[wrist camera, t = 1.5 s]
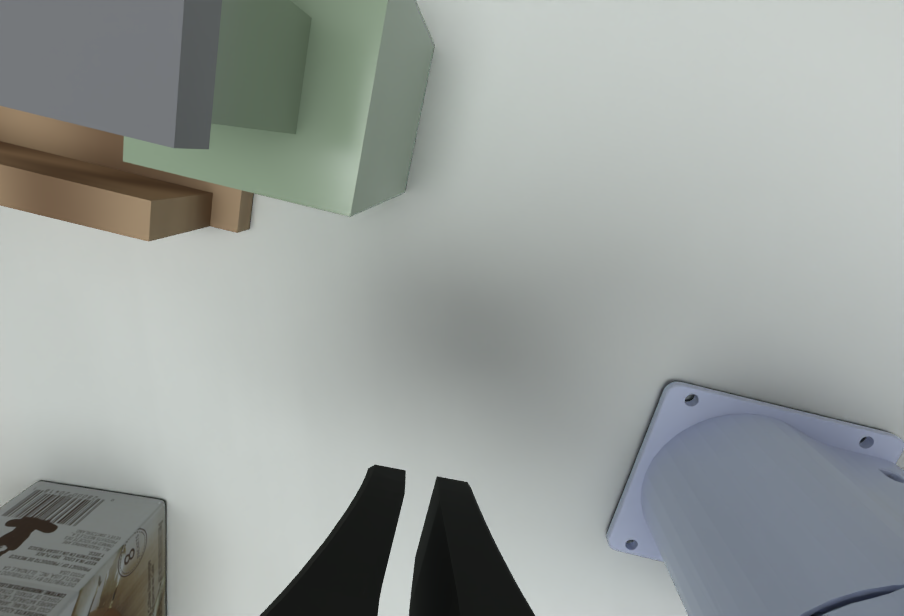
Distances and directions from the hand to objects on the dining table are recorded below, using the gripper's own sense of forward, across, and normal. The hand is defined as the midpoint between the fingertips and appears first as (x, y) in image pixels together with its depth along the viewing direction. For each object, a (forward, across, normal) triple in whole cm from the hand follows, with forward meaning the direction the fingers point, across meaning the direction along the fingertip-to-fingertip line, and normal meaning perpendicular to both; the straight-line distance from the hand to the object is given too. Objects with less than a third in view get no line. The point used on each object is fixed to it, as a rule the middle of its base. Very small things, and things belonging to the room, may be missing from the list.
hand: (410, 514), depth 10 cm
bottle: (+11, +4, -7) cm, 14 cm away
